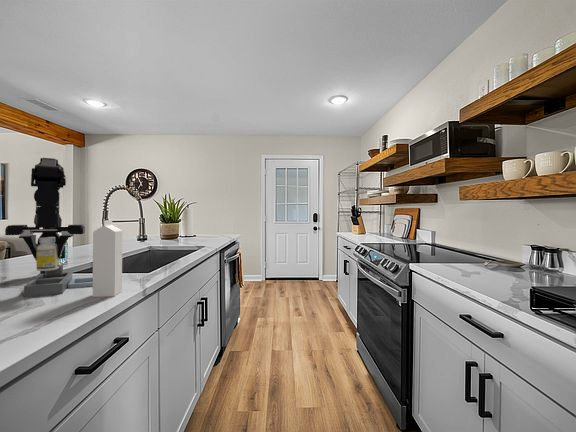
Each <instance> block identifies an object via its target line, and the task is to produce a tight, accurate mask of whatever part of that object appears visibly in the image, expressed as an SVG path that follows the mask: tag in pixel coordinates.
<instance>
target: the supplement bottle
mask: <svg viewBox="0 0 576 432" xmlns="http://www.w3.org/2000/svg"><path fill="white" fill-rule="evenodd" d="M38 238H39V237H38ZM39 243H40V245H38V246H37V247H36V260H35V262H36V270H37V271H38V272H40V271H50V270H55V269H58V268H59V260H60V259H59V258H58V245H57V244H55V237H42V238H39Z"/></svg>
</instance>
